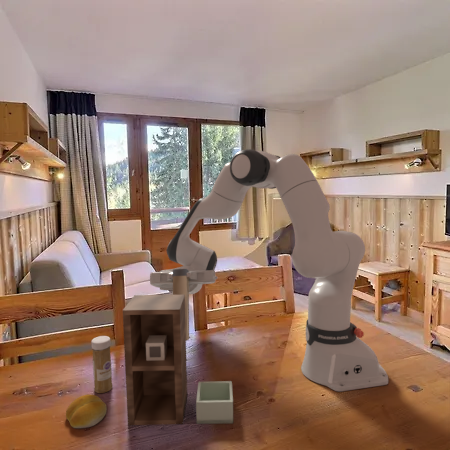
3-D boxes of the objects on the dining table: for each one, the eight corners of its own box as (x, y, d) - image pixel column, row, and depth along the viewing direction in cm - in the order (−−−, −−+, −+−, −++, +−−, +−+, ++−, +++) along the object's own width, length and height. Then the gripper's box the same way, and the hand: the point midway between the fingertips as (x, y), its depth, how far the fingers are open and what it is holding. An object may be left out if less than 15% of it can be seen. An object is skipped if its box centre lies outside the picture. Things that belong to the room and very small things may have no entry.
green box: (231, 400, 83) (231, 381, 83) (233, 423, 75) (232, 401, 75) (198, 401, 83) (198, 381, 83) (196, 423, 75) (196, 402, 75)
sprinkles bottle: (105, 395, 86) (102, 344, 85) (90, 392, 87) (87, 341, 86) (116, 385, 90) (113, 336, 89) (101, 382, 92) (99, 334, 90)
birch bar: (188, 270, 105) (186, 268, 101) (189, 339, 100) (187, 340, 96) (175, 270, 105) (172, 269, 101) (175, 339, 101) (172, 341, 96)
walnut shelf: (187, 396, 85) (184, 294, 82) (182, 424, 75) (179, 309, 72) (138, 397, 85) (134, 295, 82) (127, 425, 75) (122, 310, 72)
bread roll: (75, 436, 72) (74, 418, 72) (62, 415, 79) (61, 399, 79) (113, 418, 78) (112, 401, 77) (98, 400, 84) (97, 385, 84)
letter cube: (167, 351, 80) (166, 335, 80) (164, 360, 76) (163, 343, 76) (150, 351, 80) (149, 335, 80) (146, 360, 76) (145, 343, 76)
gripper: (218, 288, 113) (215, 285, 99) (155, 290, 113) (145, 287, 100) (217, 268, 114) (214, 263, 101) (156, 271, 115) (145, 266, 101)
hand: (179, 275), depth 100 cm, fingers closed on birch bar, 4 cm apart
